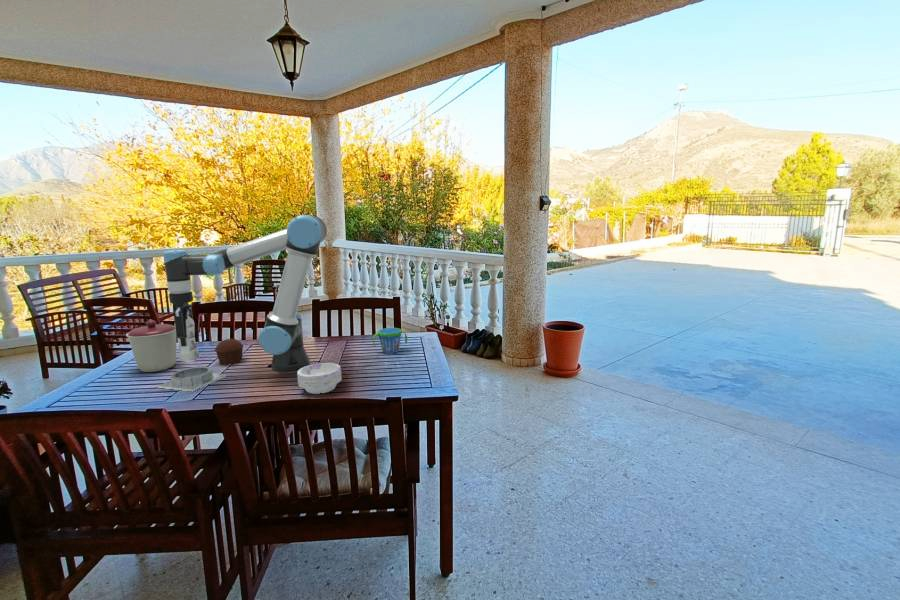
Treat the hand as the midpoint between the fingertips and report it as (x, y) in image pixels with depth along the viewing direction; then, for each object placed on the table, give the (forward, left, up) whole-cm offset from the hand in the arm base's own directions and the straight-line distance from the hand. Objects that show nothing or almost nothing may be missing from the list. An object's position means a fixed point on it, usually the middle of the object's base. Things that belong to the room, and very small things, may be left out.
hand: (188, 351), depth 168 cm
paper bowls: (-53, -5, -13) cm, 55 cm away
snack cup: (-60, -52, -13) cm, 81 cm away
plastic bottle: (0, 0, -4) cm, 4 cm away
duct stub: (0, 0, -12) cm, 12 cm away
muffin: (+4, -24, -13) cm, 27 cm away
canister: (+29, -10, -13) cm, 33 cm away
